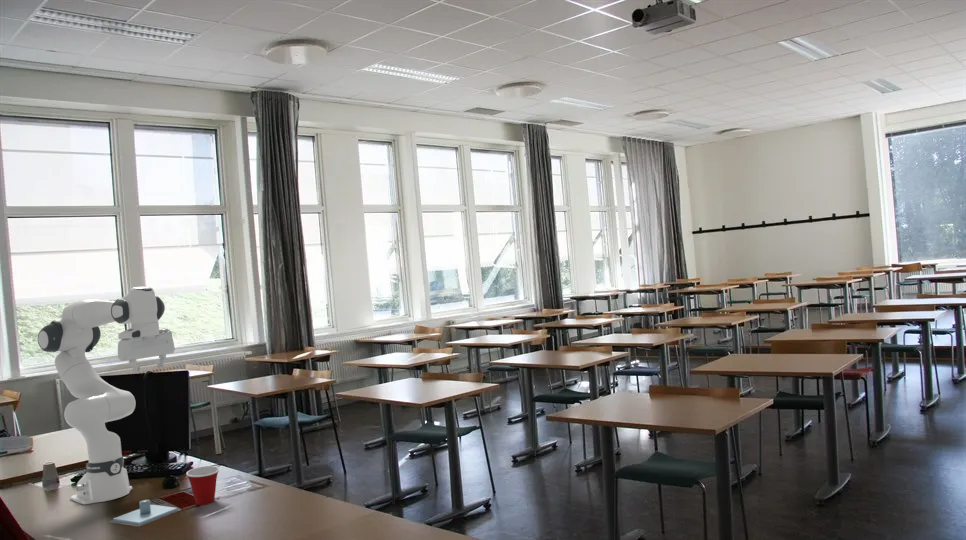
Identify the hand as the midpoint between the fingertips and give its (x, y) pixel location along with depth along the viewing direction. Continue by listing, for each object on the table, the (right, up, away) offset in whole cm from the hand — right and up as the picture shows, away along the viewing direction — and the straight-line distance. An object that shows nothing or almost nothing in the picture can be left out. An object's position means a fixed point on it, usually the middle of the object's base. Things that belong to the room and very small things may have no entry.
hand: (148, 369), depth 246 cm
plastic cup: (+23, -46, -6) cm, 52 cm away
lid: (+7, -47, -16) cm, 50 cm away
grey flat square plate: (+7, -47, -16) cm, 50 cm away
